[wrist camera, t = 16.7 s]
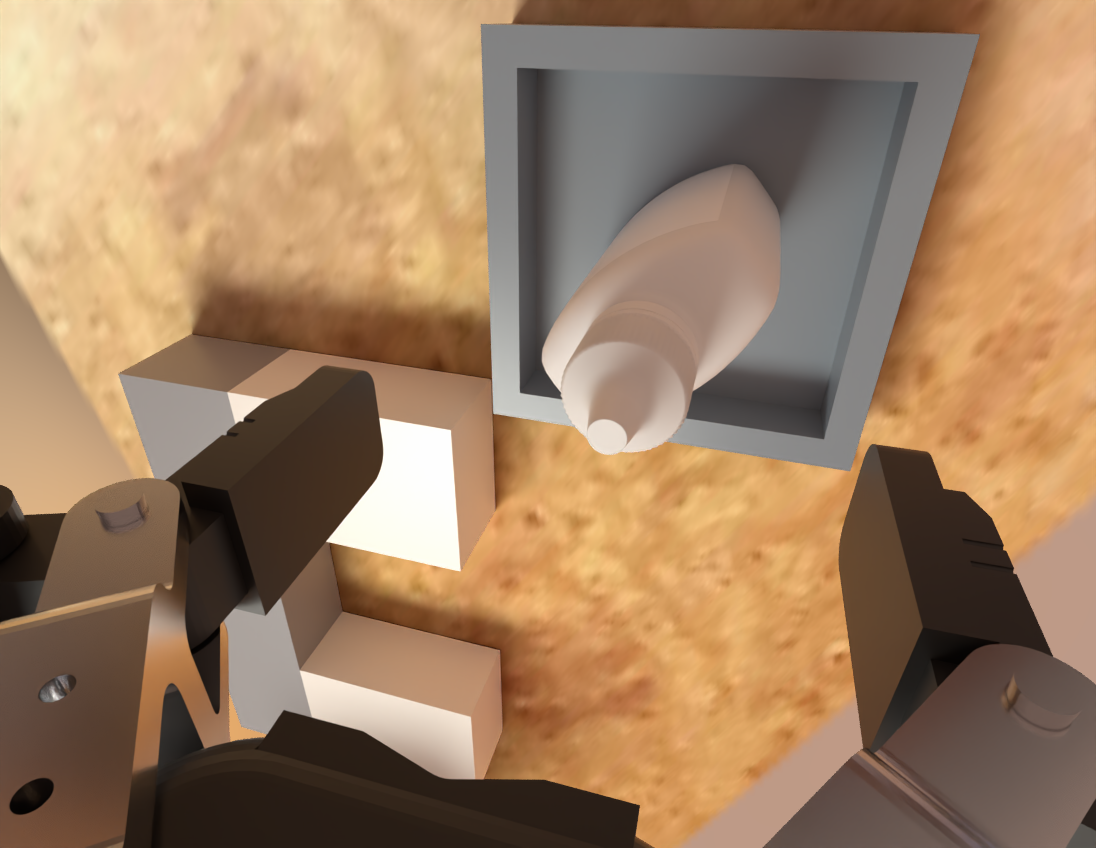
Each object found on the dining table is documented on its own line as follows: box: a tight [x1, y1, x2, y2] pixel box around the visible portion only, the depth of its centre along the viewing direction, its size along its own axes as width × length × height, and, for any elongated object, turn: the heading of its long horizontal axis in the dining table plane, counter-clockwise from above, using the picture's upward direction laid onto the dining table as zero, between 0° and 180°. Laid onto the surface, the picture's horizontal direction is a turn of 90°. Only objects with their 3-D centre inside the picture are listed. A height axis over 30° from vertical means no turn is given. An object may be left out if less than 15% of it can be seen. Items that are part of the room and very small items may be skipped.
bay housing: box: [118, 334, 503, 779], centre depth 32 cm, size 22×14×4 cm, turn 179°
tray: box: [481, 24, 980, 471], centre depth 21 cm, size 12×12×2 cm
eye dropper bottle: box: [542, 164, 780, 455], centre depth 16 cm, size 4×6×12 cm
